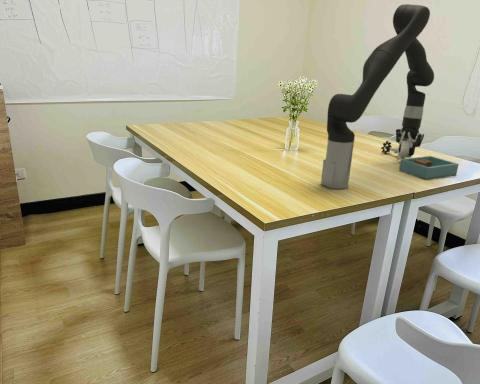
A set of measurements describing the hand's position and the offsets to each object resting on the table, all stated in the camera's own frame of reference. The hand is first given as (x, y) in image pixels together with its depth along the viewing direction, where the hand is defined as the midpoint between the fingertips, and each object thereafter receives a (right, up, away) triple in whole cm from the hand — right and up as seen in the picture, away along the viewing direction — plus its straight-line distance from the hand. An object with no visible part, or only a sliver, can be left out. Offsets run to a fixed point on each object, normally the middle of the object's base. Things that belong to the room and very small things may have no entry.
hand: (405, 153), depth 175 cm
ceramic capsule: (0, -1, 0) cm, 1 cm away
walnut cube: (+1, -9, -13) cm, 16 cm away
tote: (+4, -9, -11) cm, 15 cm away
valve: (+1, 0, +15) cm, 15 cm away
